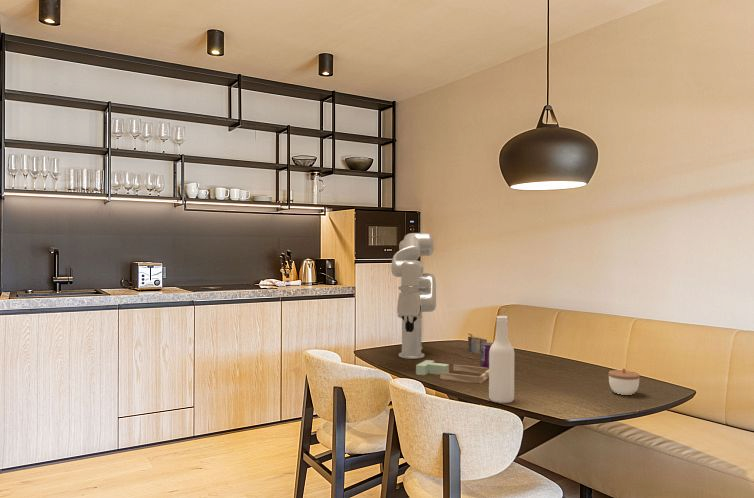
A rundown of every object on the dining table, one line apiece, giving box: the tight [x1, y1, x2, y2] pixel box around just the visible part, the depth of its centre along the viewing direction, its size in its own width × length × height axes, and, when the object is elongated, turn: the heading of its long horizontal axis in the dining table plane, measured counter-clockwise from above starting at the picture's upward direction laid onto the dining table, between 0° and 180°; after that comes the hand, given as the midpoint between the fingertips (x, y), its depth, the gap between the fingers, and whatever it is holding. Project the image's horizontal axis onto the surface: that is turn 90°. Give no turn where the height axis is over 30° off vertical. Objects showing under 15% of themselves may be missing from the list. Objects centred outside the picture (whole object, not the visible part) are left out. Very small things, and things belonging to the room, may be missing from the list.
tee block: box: [415, 359, 450, 376], centre depth 246 cm, size 12×12×4 cm
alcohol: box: [488, 315, 515, 404], centre depth 205 cm, size 9×9×30 cm
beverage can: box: [479, 342, 494, 368], centre depth 250 cm, size 7×7×12 cm
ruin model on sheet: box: [467, 333, 488, 355], centre depth 292 cm, size 11×3×10 cm, turn 32°
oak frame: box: [439, 364, 489, 384], centre depth 240 cm, size 18×17×2 cm
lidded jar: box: [608, 368, 641, 396], centre depth 214 cm, size 11×11×9 cm
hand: (409, 331), depth 251 cm, fingers closed
